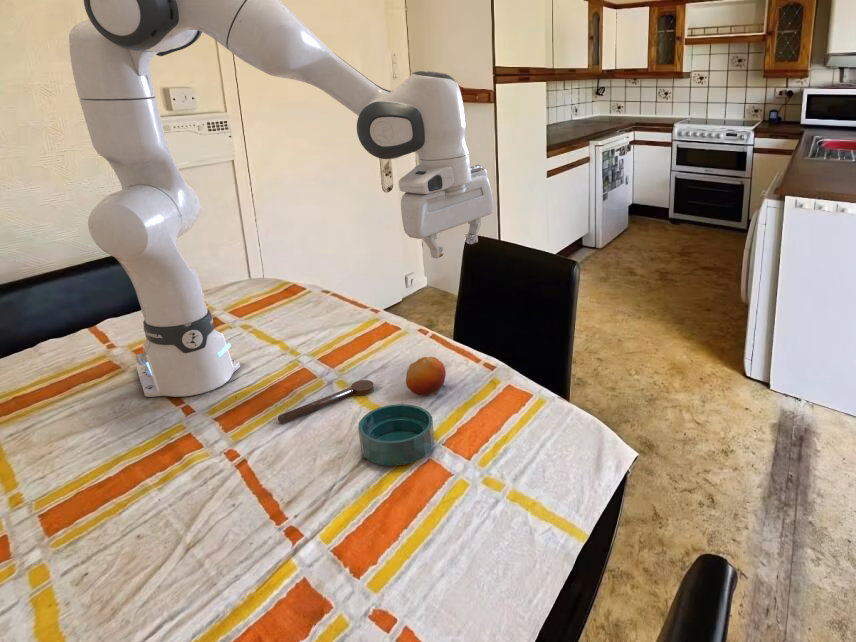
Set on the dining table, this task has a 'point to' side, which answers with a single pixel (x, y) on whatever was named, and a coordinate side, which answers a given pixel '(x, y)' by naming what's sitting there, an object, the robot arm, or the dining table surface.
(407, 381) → the fruit
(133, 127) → the robot arm
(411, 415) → the bowl
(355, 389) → the spoon
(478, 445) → the dining table surface
